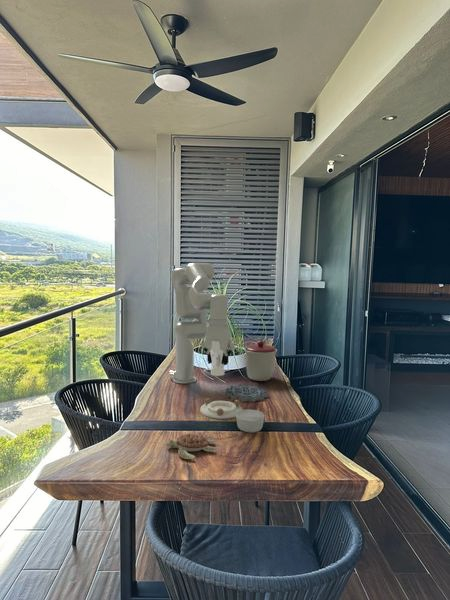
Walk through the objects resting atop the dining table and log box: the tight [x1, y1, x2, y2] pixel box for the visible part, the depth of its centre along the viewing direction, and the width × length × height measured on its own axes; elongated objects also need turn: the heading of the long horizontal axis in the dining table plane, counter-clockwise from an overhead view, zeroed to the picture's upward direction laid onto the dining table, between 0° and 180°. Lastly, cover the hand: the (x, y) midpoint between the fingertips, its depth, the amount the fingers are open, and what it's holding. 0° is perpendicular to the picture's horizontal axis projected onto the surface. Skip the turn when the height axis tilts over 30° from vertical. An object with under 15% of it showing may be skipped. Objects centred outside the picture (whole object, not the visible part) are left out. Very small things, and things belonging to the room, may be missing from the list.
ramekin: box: [235, 408, 265, 433], centre depth 152 cm, size 11×11×5 cm
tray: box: [199, 397, 244, 420], centre depth 168 cm, size 18×18×4 cm
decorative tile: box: [225, 384, 269, 403], centre depth 189 cm, size 20×20×2 cm
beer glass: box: [210, 341, 225, 377], centre depth 171 cm, size 7×7×15 cm
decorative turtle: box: [166, 433, 217, 460], centre depth 134 cm, size 18×17×5 cm
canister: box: [243, 340, 278, 382], centre depth 216 cm, size 18×18×21 cm
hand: (217, 363), depth 171 cm, fingers closed on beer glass, 6 cm apart
